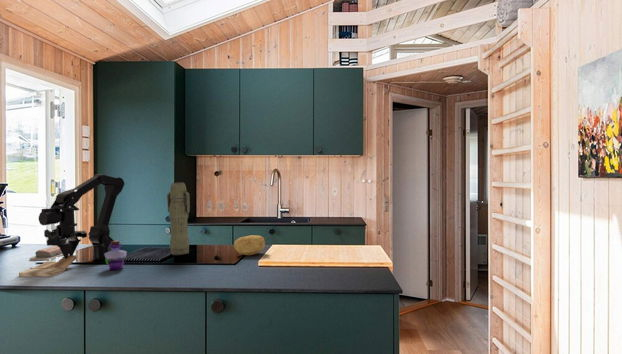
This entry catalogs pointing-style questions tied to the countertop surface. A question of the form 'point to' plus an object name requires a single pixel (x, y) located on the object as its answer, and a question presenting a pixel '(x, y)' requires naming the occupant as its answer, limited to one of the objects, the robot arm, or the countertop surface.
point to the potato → (249, 244)
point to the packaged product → (47, 253)
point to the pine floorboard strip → (41, 272)
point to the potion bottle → (115, 256)
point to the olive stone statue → (178, 218)
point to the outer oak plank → (46, 265)
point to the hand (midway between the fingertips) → (68, 257)
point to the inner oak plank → (65, 262)
